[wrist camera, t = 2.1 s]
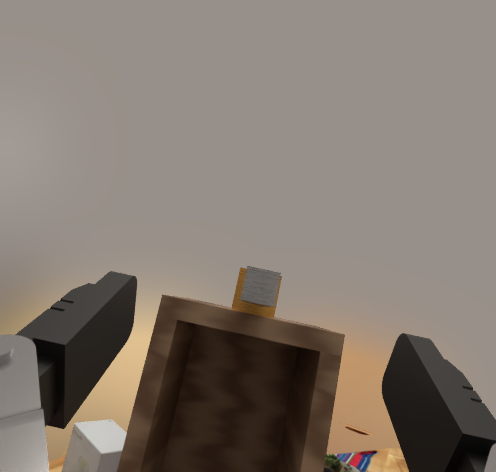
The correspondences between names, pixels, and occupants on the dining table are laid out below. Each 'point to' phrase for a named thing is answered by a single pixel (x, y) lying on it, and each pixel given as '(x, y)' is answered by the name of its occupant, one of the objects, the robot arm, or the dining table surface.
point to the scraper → (257, 291)
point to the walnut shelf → (232, 393)
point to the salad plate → (337, 465)
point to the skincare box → (94, 447)
